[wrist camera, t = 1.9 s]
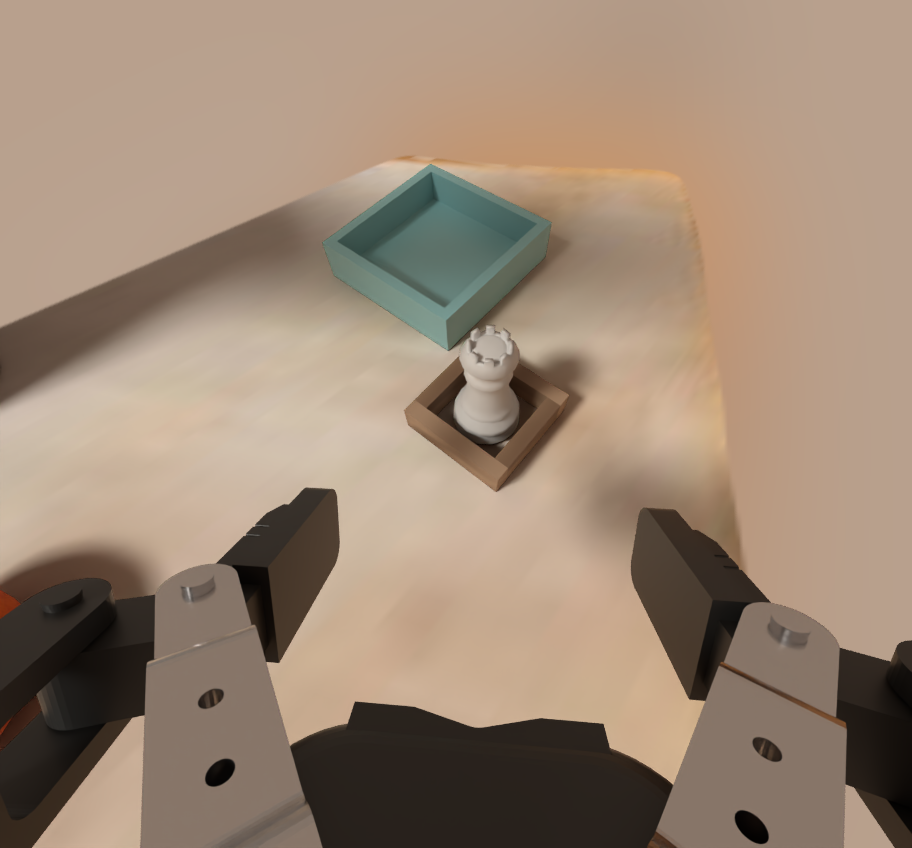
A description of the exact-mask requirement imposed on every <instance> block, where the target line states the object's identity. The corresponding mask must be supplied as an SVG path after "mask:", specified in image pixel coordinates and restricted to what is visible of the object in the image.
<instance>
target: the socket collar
mask: <svg viewBox="0 0 912 848" xmlns="http://www.w3.org/2000/svg"><path fill="white" fill-rule="evenodd" d="M466 384H467V381H466V378H465V376H464V368H463V367H462V364H461V362H460V360H459V357H458V358H457V359H456V360H455V361H454V362H453V363H452V364H451V365H450V366H449V367H448V368H447V369H446V370H445V371H443V372H442V373H441V374H440V375H439V376H438V377H437V378H436V379H435V380H434V381H433V382H432V383H431V384H430V385H429V386H428V387H427V388H426V389H425V390H424V391H423V392H422V393H421V394H420V395H419V396H418V397H417V398H416V399H415V400H414V401H413V402H412V403H411V404H410V405H409V406H408V407H407V408H406V409H405V410H404V411H405V415H406V419H407V422H408V425H409V426H410V427H412V428H413V429H414V430H416V431H417V432H418V433H419V434H421V435H422V436H423V437H425V438H426V439H427V440H429V441H430V442H431V443H433V444H434V445H435V446H436V447H438V448H439V449H440V450H442V451H443V452H444V453H446V454H447V455H448V456H450V457H451V458H452V459H454V460H455V461H456V462H457V463H459V464H460V465H461V466H463V467H464V468H465V469H467V470H468V471H469V472H471V473H472V474H473V475H474V476H476V477H477V478H478V479H480V480H481V481H482V482H484V483H485V484H486V485H488V486H489V487H490V488H492V489H493V490H494V491H495V492H497V490H498V489H499V488H500V487H501V486H502V484H503V483H504V482H505V481H506V480H507V478H508V477H509V476H510V475H511V473H512V472H513V471H514V470H515V469H516V467H517V466H518V465H519V464H520V463H521V461H522V460H523V459H524V458H525V457H526V455H527V454H528V453H529V452H530V451H531V449H532V448H533V447H534V446H535V445H536V443H537V442H538V441H539V440H540V439H541V437H542V436H543V435H544V434H545V432H546V431H547V430H548V429H549V428H550V426H551V425H552V424H553V423H554V422H555V420H556V419H557V418H558V417H559V416H560V414H561V413H562V412H563V411H564V408H565V405H566V403H567V400H568V397H569V395H568V394H567V393H565V392H564V391H562V390H560V389H559V388H557V387H556V386H554V385H552V384H551V383H549V382H548V381H546V380H544V379H543V378H541V377H540V376H538V375H536V374H535V373H533V372H532V371H530V370H529V369H527V368H525V367H524V366H522V365H521V364H519V363H518V365H517V366H516V368H515V370H514V371H513V377H512V379H511V381H510V383H509V387H510V388H511V389H512V390H513V391H514V393H515V394H516V395H517V396H519V397H520V398H522V399H523V400H525V401H526V402H528V403H529V404H531V405H532V406H534V407H535V408H537V410H536V411H535V412H534V413H533V414H532V416H531V417H530V418H529V419H528V420H527V421H526V422H525V424H524V425H523V426H522V427H521V428H520V429H519V431H518V432H517V433H516V434H515V435H514V436H513V438H512V439H511V440H510V441H509V442H508V443H507V445H506V446H505V447H504V448H503V449H502V450H501V452H500V453H499V454H498V455H497V456H496V457H495V458H494V457H492V456H491V455H489V454H488V453H487V452H485V451H484V450H483V449H481V448H480V447H479V446H477V445H476V444H474V443H473V442H472V441H470V440H469V439H468V438H466V437H465V436H463V435H462V434H461V433H459V432H458V431H457V430H455V429H454V428H453V427H451V426H450V425H448V424H447V423H446V422H444V421H443V420H442V419H440V418H439V417H438V416H436V415H437V414H438V413H439V412H440V411H441V410H442V409H443V408H444V407H445V406H446V405H447V404H448V403H449V402H450V401H451V400H452V399H453V398H454V397H455V396H456V395H457V394H458V393H459V392H460V391H461V389H462V388H463V387H465V385H466Z"/></svg>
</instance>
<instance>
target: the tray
mask: <svg viewBox="0 0 912 848" xmlns="http://www.w3.org/2000/svg"><path fill="white" fill-rule="evenodd" d="M551 223H552V222H550V221H548V220H546V219H544V218H541V217H539V216H537V215H535V214H533V213H531V212H529V211H527V210H525V209H523V208H521V207H519V206H517V205H515V204H513V203H510V202H508V201H506V200H504V199H502V198H500V197H498V196H496V195H494V194H492V193H490V192H488V191H486V190H484V189H482V188H479V187H477V186H475V185H473V184H471V183H469V182H467V181H465V180H463V179H461V178H459V177H457V176H455V175H453V174H451V173H448V172H446V171H444V170H442V169H440V168H438V167H436V166H434V165H432V164H430V165H428V166H427V167H425V168H424V169H423V170H421V171H420V172H419V173H417V174H416V175H414V176H413V177H412V178H410V179H409V180H408V181H406V182H405V183H403V184H402V185H401V186H399V187H398V188H397V189H395V190H394V191H392V192H391V193H390V194H388V195H387V196H386V197H384V198H383V199H381V200H380V201H379V202H377V203H376V204H375V205H373V206H372V207H370V208H369V209H368V210H366V211H365V212H363V213H362V214H361V215H359V216H358V217H357V218H355V219H354V220H352V221H351V222H350V223H348V224H347V225H346V226H344V227H343V228H341V229H340V230H339V231H337V232H336V233H335V234H333V235H332V236H330V237H329V238H328V239H326V240H325V241H324V242H322V244H323V246H324V249H325V252H326V255H327V257H328V260H329V263H330V266H331V268H332V271H333V274H334V276H336V277H337V278H339V279H340V280H342V281H343V282H345V283H346V284H348V285H349V286H351V287H352V288H354V289H355V290H357V291H358V292H360V293H361V294H363V295H364V296H366V297H367V298H369V299H370V300H372V301H373V302H375V303H376V304H378V305H379V306H381V307H383V308H384V309H386V310H387V311H389V312H390V313H392V314H393V315H395V316H396V317H398V318H399V319H401V320H402V321H404V322H405V323H407V324H408V325H410V326H411V327H413V328H414V329H416V330H417V331H419V332H420V333H422V334H423V335H425V336H426V337H428V338H429V339H431V340H433V341H434V342H436V343H437V344H439V345H440V346H442V347H443V348H445V349H446V350H448V351H449V350H450V349H451V348H452V347H453V346H454V345H455V344H456V343H457V342H458V341H459V340H460V339H461V338H462V337H463V336H464V335H465V334H466V333H467V332H468V331H469V330H470V329H471V328H472V327H473V326H474V325H476V324H477V323H478V322H479V321H480V320H481V319H482V318H483V317H484V316H485V315H486V314H487V313H488V312H489V311H490V310H491V309H492V308H493V307H494V306H495V305H496V304H497V303H498V302H499V301H500V300H501V299H502V298H503V297H504V296H506V295H507V294H508V293H509V292H510V291H511V290H512V289H513V288H514V287H515V286H516V285H517V284H518V283H519V282H520V281H521V280H522V279H523V278H524V277H525V276H526V275H527V274H528V273H529V272H530V271H531V270H532V269H533V268H534V267H536V266H537V265H538V264H539V263H540V262H541V261H542V260H543V259H544V258H545V257H546V251H547V246H548V240H549V235H550V229H551Z"/></svg>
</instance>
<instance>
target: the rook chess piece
mask: <svg viewBox="0 0 912 848" xmlns="http://www.w3.org/2000/svg"><path fill="white" fill-rule="evenodd" d="M459 360H460V362H461V364H462V367H463V368H464V376H465V378H466V381H467V384H466V385H465V387H463V388H462V389H461V391H460V392H459V394H458V396H457V397H456V399H455V403H454V415H453V420H454V422H455V425H456V428H457V430H458V431H459V432H460V433H461V434H462V435H463V436H465V437H466V438H468V439H469V440H471V441H473V442H475V443H478V444H494V443H497V442H501V441H504V440H505V439H506V438H508V437H509V436H510V435H511V434H513V433H514V431H515V429H516V427H517V425H518V423H519V402H518V399H517V397H516V395H515V393H514V391H513V390H512V389H511V388H510V387H509V383H510V381H511V379H512V377H513V371H514V370H515V368H516V366H517V365H518V363H519V349H518V347H517V345H516V343H515V342H514V341H513V340H512V339H510V333H509V332H508V331H507V330H506V329H503V330H502V331H501V333H500V332H497V331H495V325H486V331H482V332H480V330H479V329H478V327H477V328H476V329H474V330H473V331H472V332H471V337H469V338H468V339H466V340H465V342H464V343H463V345H462V346H461V348H460V354H459Z"/></svg>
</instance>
